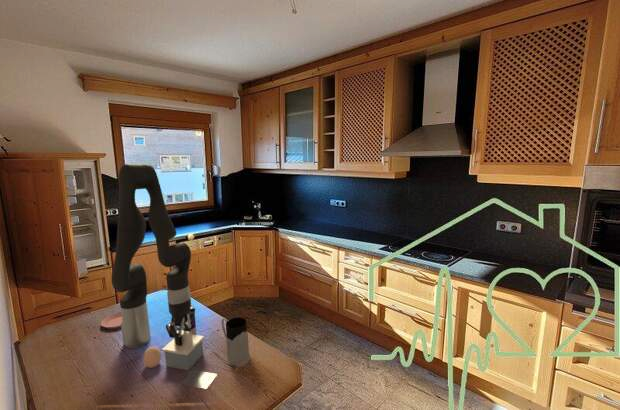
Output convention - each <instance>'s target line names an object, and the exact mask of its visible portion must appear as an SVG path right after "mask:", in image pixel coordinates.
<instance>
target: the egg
mask: <svg viewBox="0 0 620 410" xmlns="http://www.w3.org/2000/svg"><path fill="white" fill-rule="evenodd" d="M142 359H143V360H142V361H143V363H144V366H145V367H147V368H151V369H152V368H155V367H157V366H158V365H159V364H160V362H161V360H162V354H161V350H160V349H159V348H157V347H156V346H150V347H148V348H147V349H146V350H145V352H144V354H143V358H142Z"/></svg>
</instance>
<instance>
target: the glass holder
mask: <svg viewBox="0 0 620 410" xmlns="http://www.w3.org/2000/svg"><path fill="white" fill-rule="evenodd" d="M224 321H225V323H224ZM247 322H248V321H247V319H246V318H245V317H241V316H240V317H232V318H229V319H227V317H224V318H222V319H221V327H222V331H223V334H224V337H225V339H226V340H225V341H226V351H227V352H226V353H227V354H226V355H227V359H226V362H227V363H228V364H229V365H231V366H235V367H236V368H240V367H243V366H245V365H247V364H248V363H249V362H250V360H251V354H250V350H249V333H248V325H247V324H248V323H247Z"/></svg>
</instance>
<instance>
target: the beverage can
mask: <svg viewBox="0 0 620 410" xmlns="http://www.w3.org/2000/svg"><path fill="white" fill-rule="evenodd" d="M191 308H195V307H194V306H193V305H191ZM190 320H191V317H190ZM184 328H185V327H184V326H183V331H184ZM190 330H191V332H192V334H193V335H198V334H197V324H196V315H195V316H194V323H193V324H191V328H190Z"/></svg>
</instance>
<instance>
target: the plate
mask: <svg viewBox="0 0 620 410" xmlns="http://www.w3.org/2000/svg"><path fill="white" fill-rule="evenodd" d="M121 323H122V314H121V311H117V312H115V313H112V314H109V315H107V316H106V317H104V318H103V319H102V320H101V322H100V326H101V327H104V328H106V329H110V330H112V329H114V330H115V329H116V330H117V329H121Z"/></svg>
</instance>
